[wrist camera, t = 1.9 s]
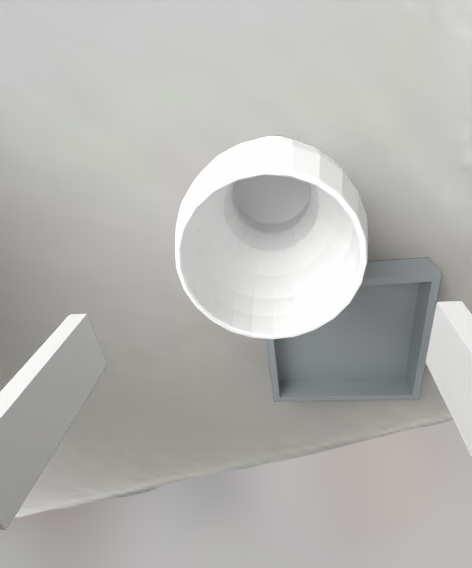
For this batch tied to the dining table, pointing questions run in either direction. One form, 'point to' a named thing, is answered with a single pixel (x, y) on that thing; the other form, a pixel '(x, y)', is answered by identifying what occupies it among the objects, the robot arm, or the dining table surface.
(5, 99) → the dining table surface
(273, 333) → the cup
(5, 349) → the dining table surface
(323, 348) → the tray
